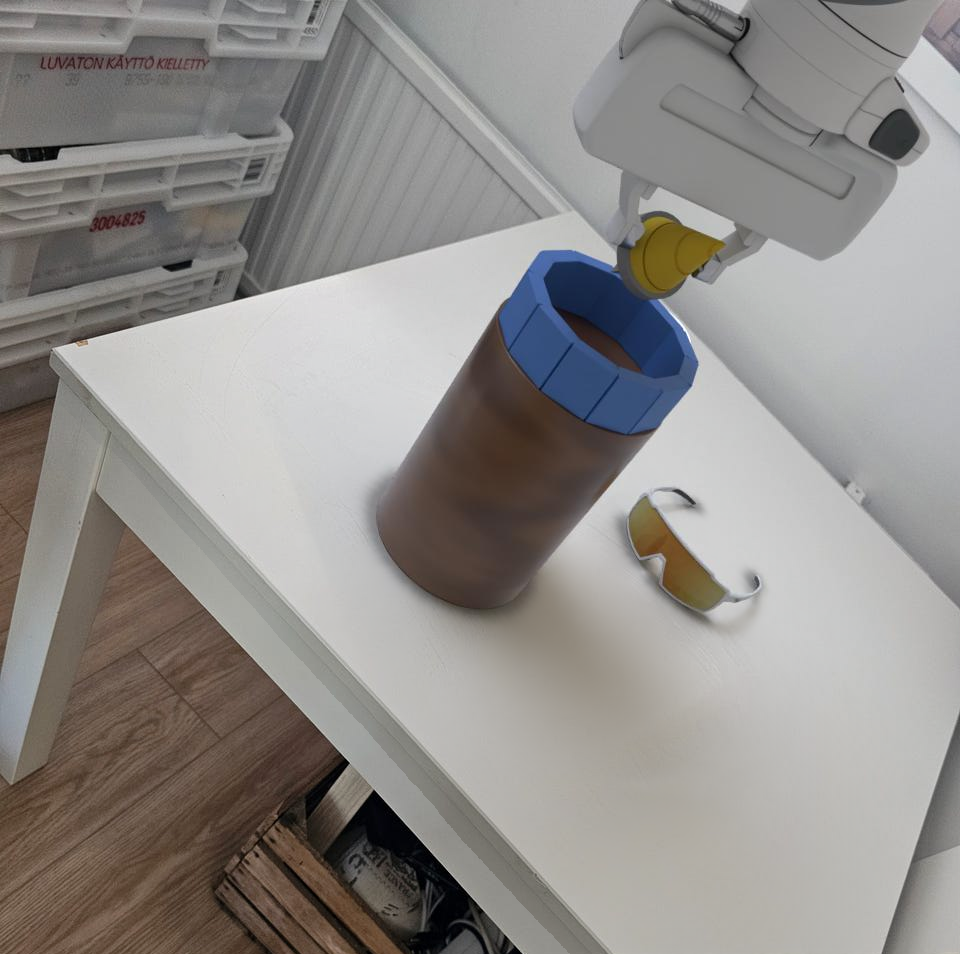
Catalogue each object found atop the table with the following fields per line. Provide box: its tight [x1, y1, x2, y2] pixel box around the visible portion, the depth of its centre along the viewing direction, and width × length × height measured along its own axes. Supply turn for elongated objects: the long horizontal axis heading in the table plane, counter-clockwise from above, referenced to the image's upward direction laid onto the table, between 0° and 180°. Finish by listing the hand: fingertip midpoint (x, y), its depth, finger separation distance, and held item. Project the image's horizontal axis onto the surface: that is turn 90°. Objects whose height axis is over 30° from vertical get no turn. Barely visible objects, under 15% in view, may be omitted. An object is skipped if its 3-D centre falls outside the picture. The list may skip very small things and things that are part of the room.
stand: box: [376, 296, 664, 610], centre depth 79 cm, size 14×14×20 cm
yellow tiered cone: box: [610, 210, 726, 300], centre depth 65 cm, size 5×5×10 cm
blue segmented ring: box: [499, 249, 700, 434], centre depth 71 cm, size 13×13×4 cm
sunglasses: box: [626, 485, 763, 614], centre depth 101 cm, size 14×15×5 cm
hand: (658, 259), depth 67 cm, fingers closed on yellow tiered cone, 5 cm apart
